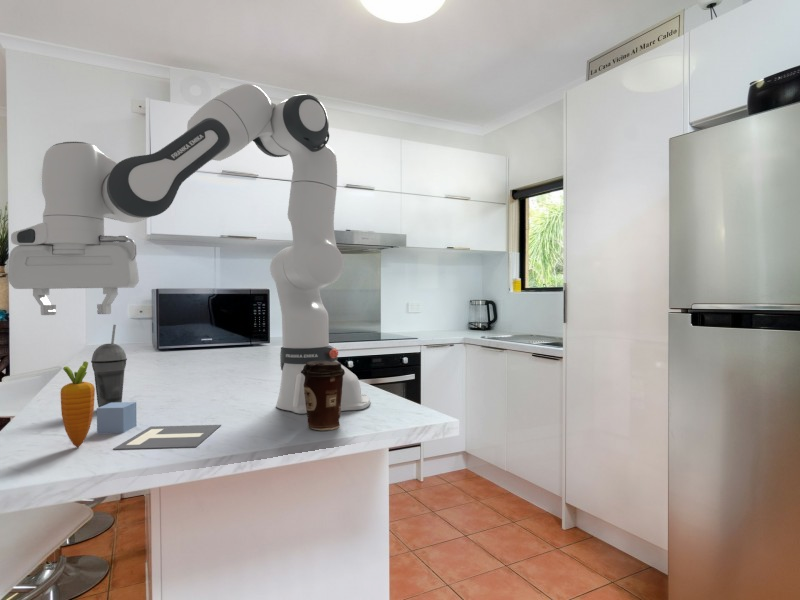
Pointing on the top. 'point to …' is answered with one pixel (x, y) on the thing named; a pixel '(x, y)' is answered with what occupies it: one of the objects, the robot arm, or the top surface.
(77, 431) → the carrot
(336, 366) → the coffee cup
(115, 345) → the beverage cup
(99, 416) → the slate cube
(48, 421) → the top surface
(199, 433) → the letter mat
